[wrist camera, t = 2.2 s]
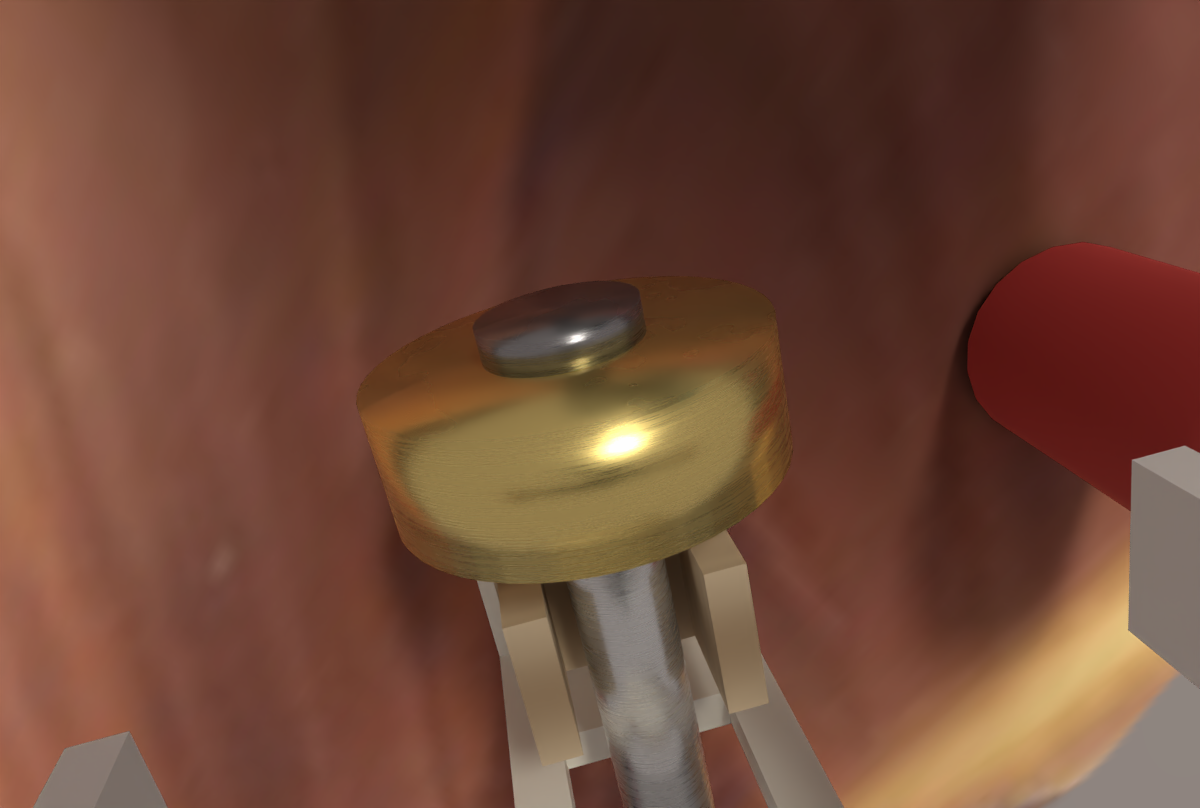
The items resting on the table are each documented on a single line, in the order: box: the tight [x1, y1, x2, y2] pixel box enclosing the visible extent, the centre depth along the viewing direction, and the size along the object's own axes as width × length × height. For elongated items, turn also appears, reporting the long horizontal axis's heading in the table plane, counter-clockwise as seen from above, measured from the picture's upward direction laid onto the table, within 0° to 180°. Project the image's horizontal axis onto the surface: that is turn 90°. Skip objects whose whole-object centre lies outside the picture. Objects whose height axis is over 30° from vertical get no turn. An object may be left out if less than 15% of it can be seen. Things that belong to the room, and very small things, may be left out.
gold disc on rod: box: [356, 276, 793, 808], centre depth 23 cm, size 18×9×9 cm, turn 11°
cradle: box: [494, 530, 769, 766], centre depth 26 cm, size 4×6×10 cm, turn 101°
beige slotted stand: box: [477, 580, 844, 808], centre depth 25 cm, size 8×8×16 cm
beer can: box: [967, 242, 1200, 511], centre depth 25 cm, size 7×7×12 cm
